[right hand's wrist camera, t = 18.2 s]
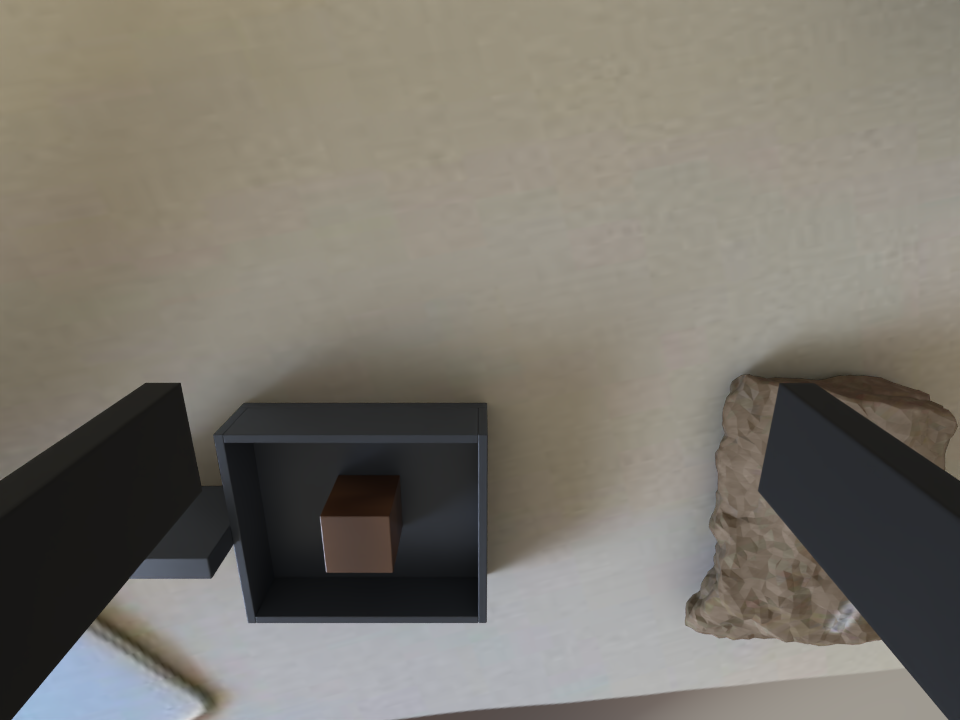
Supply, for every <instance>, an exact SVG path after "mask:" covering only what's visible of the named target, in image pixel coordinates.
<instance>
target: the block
mask: <svg viewBox="0 0 960 720" xmlns="http://www.w3.org/2000/svg"><path fill="white" fill-rule="evenodd" d="M320 523H321V532H322V540H323V549H324V557H325V566H326V572H327V573H393V570H394V565H395V561H396V556H397V551H398V546H399V542H400V537H401V532H402V527H403V523H402V505H401V487H400V475H338V477H337V479H336V481H335V484H334V486H333V488H332V490H331V493H330V495H329V497H328V499H327V502H326V504H325V506H324V508H323V511H322V513H321V515H320Z"/></svg>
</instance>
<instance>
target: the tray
mask: <svg viewBox="0 0 960 720" xmlns="http://www.w3.org/2000/svg"><path fill="white" fill-rule="evenodd" d="M213 436H214V441H215V447H216V452H217V458H218V463H219V468H220V474H221V479H222V485H223V486H201V487H202V492H201V493H200V494H199V495H198V497H197V498H196V499H195V500H194V501H193V503H192V504H191V505H190V506H189V507H188V509H187V510H186V511H185V512H184V513H183V515H182V516H181V517H180V518H179V519H178V521H177V522H176V523H175V524H174V525H173V527H172V528H171V529H170V530H169V531H168V533H167V534H166V535H165V536H164V537H163V539H162V540H161V541H160V542H159V543H158V545H157V546H156V547H155V548H154V549H153V551H152V552H151V553H150V554H149V555H148V557H147V558H146V559H145V560H144V561H143V563H142V564H141V565H140V566H139V567H138V569H137V570H136V571H135V572H134V573H133V575H132V576H131V577H130V578H129V579H211V578H212V577H213V576H214V574H215V573H216V571H217V569H218V568H219V566H220V565H221V563H222V562H223V560H224V558H225V557H226V555H227V554H228V552H229V551H230V549H231V547H232V546H233V544H234V550H235V555H236V560H237V566H238V571H239V577H240V582H241V587H242V593H243V598H244V604H245V609H246V614H247V620H248V623H478V622H479V623H486V622H487V464H488V430H487V403H243V405H242V406H241V407H240V408H239V409H238V410H237V411H236V412H235V413H234V414H233V415H232V416H231V417H230V418H229V419H228V420H227V421H226V422H225V423H224V424H223V425H222V426H221V427H220V428H219V429H218V431H217V432H216V433H215V434H214V435H213ZM338 475H400V487H401V505H402V523H403V527H402V532H401V537H400V542H399V546H398V551H397V556H396V561H395V565H394V570H393V573H327V572H326V566H325V557H324V549H323V540H322V532H321V523H320V515H321V513H322V511H323V508H324V506H325V504H326V502H327V499H328V497H329V495H330V493H331V490H332V488H333V486H334V484H335V481H336V479H337V477H338Z"/></svg>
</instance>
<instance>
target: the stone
mask: <svg viewBox="0 0 960 720" xmlns="http://www.w3.org/2000/svg"><path fill="white" fill-rule="evenodd" d="M779 383H815V384H817V385H818V386H820V387H821V388H823V389H824V390H826V391H827V392H829V393H830V394H831V395H833V396H834V397H836V398H837V399H839V400H840V401H842V402H843V403H845V404H846V405H848V406H849V407H851V408H852V409H854V410H855V411H857V412H858V413H860V414H861V415H863V416H864V417H866V418H867V419H869V420H870V421H872V422H873V423H875V424H876V425H878V426H879V427H880V428H882V429H883V430H885V431H886V432H888V433H889V434H891V435H892V436H894V437H895V438H897V439H898V440H900V441H901V442H903V443H904V444H906V445H907V446H909V447H910V448H912V449H913V450H915V451H916V452H918V453H919V454H921V455H922V456H924V457H925V458H927V459H928V460H929V461H931V462H932V463H934V464H935V465H937V466H938V467H940V468H941V469H943V470H945V452H946V449H947V446H948V443H949V440H950V438H951V437H952V436H953V435H954V433H955V431H956V429H957V427H958V426H957V423H956V420H955V417H954V416H953V415H952V413H951V412H950V411H949V410H947V409H944V408H943V406H941V405H939V404H937V403H934V402H932V401H930V396H929V394H926V393H924V392H922V391H920V390H914V389H911V388H908V387H905V386H902V385H898V384H895V383H893V382H890V381H887V380H885V379H883V378H879V377H870V376H854V375H848V376H836V377H832V378H828V379H822V380H810V379H790V378H776V377H775V378H768V379H766V378H763V377H755V376H752V375H750V374H748V375H741V376H740V377H738V378H736V379H735V380H734V381H732V383H731V386H730V394H729V395H728V397H727V398H726V401H725V405H724V408H723V422H722V425H723V428H724V432H725V435H724V437H723V439H722V441H721V443H720V447H719V449H718V450H717V452H716V453H715V459H716V468H717V471H718V490H717V492H716V507H715V509H714V512H713V514H712V516H711V518H710V522H709V528H710V530H711V531H712V533H713V535H714V536H715V538H716V539H717V541H718V542H717V544H716V546H715V548H716V553H715V555H714V564H715V565H714V567H713V568H712V569H711V570H710V571H708V573H707V576H706V577H705V578H704V580H703V581H702V583H701V590H700V591H699V592H697V593H696V594H694V595H692V596H691V598H690V599H689V600H688V601H687V603H686V617H685V625H686V626H688V627H690V628H692V629H694V630H695V631H697V632H699V633H703V634H712V635H714V636H716V637H718V638H725V637H727V638H729V639H732V640H738V639H752V638H762V639H767V638H777V639H779V640H782V641H784V642H793V641H795V642H799V643H804V644H812V645H817V646H828V645H833V644H850V645H856V644H863V643H865V642H871V641H875V640H882V639H881V638H880V637H879V636H878V635H877V633H876V632H875V631H874V630H873V629H872V627H871V626H870V625H869V624H868V623H867V621H866V620H865V619H864V618H863V617H862V615H861V614H860V613H859V612H858V611H857V609H856V608H855V607H854V606H853V605H852V603H851V602H850V601H849V600H848V599H847V597H846V596H845V595H844V594H843V593H842V591H841V590H840V589H839V588H838V587H837V585H836V584H835V583H834V582H833V581H832V579H831V578H830V577H829V576H828V575H827V573H826V572H825V571H824V570H823V569H822V567H821V566H820V565H819V564H818V563H817V561H816V560H815V559H814V558H813V557H812V555H811V554H810V553H809V552H808V551H807V549H806V548H805V547H804V546H803V545H802V543H801V542H800V541H799V540H798V539H797V537H796V536H795V535H794V534H793V533H792V531H791V530H790V529H789V528H788V527H787V525H786V524H785V523H784V522H783V521H782V519H781V518H780V517H779V516H778V515H777V513H776V512H775V511H774V510H773V509H772V507H771V506H770V505H769V504H768V503H767V501H766V500H765V499H764V498H763V497H762V495H761V494H760V493H759V492H758V487H759V482H760V477H761V472H762V467H763V462H764V457H765V452H766V447H767V442H768V437H769V432H770V427H771V422H772V417H773V412H774V407H775V402H776V397H777V392H778V387H779Z"/></svg>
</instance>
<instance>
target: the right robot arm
mask: <svg viewBox="0 0 960 720" xmlns="http://www.w3.org/2000/svg"><path fill="white" fill-rule="evenodd" d="M201 492H202V487H201V482H200V477H199V472H198V467H197V462H196V457H195V452H194V447H193V442H192V437H191V432H190V427H189V422H188V417H187V412H186V407H185V402H184V397H183V392H182V387H181V383H145V384H143V385H142V386H140V387H139V388H137V389H136V390H134V391H133V392H131V393H130V394H129V395H127V396H126V397H124V398H123V399H121V400H120V401H118V402H117V403H115V404H114V405H112V406H111V407H109V408H108V409H106V410H105V411H103V412H102V413H100V414H99V415H97V416H96V417H94V418H93V419H91V420H90V421H88V422H87V423H85V424H84V425H82V426H81V427H80V428H78V429H77V430H75V431H74V432H72V433H71V434H69V435H68V436H66V437H65V438H63V439H62V440H60V441H59V442H57V443H56V444H54V445H53V446H51V447H50V448H48V449H47V450H45V451H44V452H42V453H41V454H39V455H38V456H36V457H35V458H33V459H32V460H31V461H29V462H28V463H26V464H25V465H23V466H22V467H20V468H19V469H17V470H16V471H14V472H13V473H11V474H10V475H8V476H7V477H5V478H4V479H2V480H1V481H0V720H12V718H13V717H14V716H15V715H16V714H17V712H18V711H19V710H20V709H21V708H22V706H23V705H24V704H25V703H26V702H27V700H28V699H29V698H30V697H31V696H32V694H33V693H34V692H35V691H36V690H37V688H38V687H39V686H40V685H41V684H42V682H43V681H44V680H45V679H46V678H47V676H48V675H49V674H50V673H51V672H52V671H53V669H54V668H55V667H56V666H57V665H58V663H59V662H60V661H61V660H62V659H63V657H64V656H65V655H66V654H67V653H68V651H69V650H70V649H71V648H72V647H73V645H74V644H75V643H76V642H77V641H78V639H79V638H80V637H81V636H82V635H83V633H84V632H85V631H86V630H87V629H88V627H89V626H90V625H91V624H92V623H93V621H94V620H95V619H96V618H97V617H98V615H99V614H100V613H101V612H102V611H103V609H104V608H105V607H106V606H107V605H108V603H109V602H110V601H111V600H112V599H113V597H114V596H115V595H116V594H117V593H118V591H119V590H120V589H121V588H122V587H123V585H124V584H125V583H126V582H127V581H128V579H129V578H130V577H131V576H132V575H133V573H134V572H135V571H136V570H137V569H138V567H139V566H140V565H141V564H142V563H143V561H144V560H145V559H146V558H147V557H148V555H149V554H150V553H151V552H152V551H153V549H154V548H155V547H156V546H157V545H158V543H159V542H160V541H161V540H162V539H163V537H164V536H165V535H166V534H167V533H168V531H169V530H170V529H171V528H172V527H173V525H174V524H175V523H176V522H177V521H178V519H179V518H180V517H181V516H182V515H183V513H184V512H185V511H186V510H187V509H188V507H189V506H190V505H191V504H192V503H193V501H194V500H195V499H196V498H197V497H198V495H199V494H200V493H201ZM758 492H759V493H760V494H761V495H762V497H763V498H764V499H765V500H766V501H767V503H768V504H769V505H770V506H771V507H772V509H773V510H774V511H775V512H776V513H777V515H778V516H779V517H780V518H781V519H782V521H783V522H784V523H785V524H786V525H787V527H788V528H789V529H790V530H791V531H792V533H793V534H794V535H795V536H796V537H797V539H798V540H799V541H800V542H801V543H802V545H803V546H804V547H805V548H806V549H807V551H808V552H809V553H810V554H811V555H812V557H813V558H814V559H815V560H816V561H817V563H818V564H819V565H820V566H821V567H822V569H823V570H824V571H825V572H826V573H827V575H828V576H829V577H830V578H831V579H832V581H833V582H834V583H835V584H836V585H837V587H838V588H839V589H840V590H841V591H842V593H843V594H844V595H845V596H846V597H847V599H848V600H849V601H850V602H851V603H852V605H853V606H854V607H855V608H856V609H857V611H858V612H859V613H860V614H861V615H862V617H863V618H864V619H865V620H866V621H867V623H868V624H869V625H870V626H871V627H872V629H873V630H874V631H875V632H876V633H877V635H878V636H879V637H880V638H881V639H882V641H883V642H884V643H885V644H886V645H887V647H888V648H889V649H890V650H891V651H892V653H893V654H894V655H895V656H896V657H897V659H898V660H899V661H900V662H901V663H902V665H903V666H904V667H905V668H906V669H907V670H908V672H909V673H910V674H911V675H912V676H913V678H914V679H915V680H916V681H917V682H918V684H919V685H920V686H921V687H922V688H923V690H924V691H925V692H926V693H927V694H928V696H929V697H930V698H931V699H932V700H933V702H934V703H935V704H936V705H937V706H938V708H939V709H940V710H941V711H942V712H943V714H944V715H945V716H946V717H947V718H948V720H960V481H959V480H958V479H956V478H955V477H953V476H952V475H950V474H949V473H947V472H946V471H944V470H943V469H941V468H940V467H938V466H937V465H935V464H934V463H932V462H931V461H929V460H928V459H927V458H925V457H924V456H922V455H921V454H919V453H918V452H916V451H915V450H913V449H912V448H910V447H909V446H907V445H906V444H904V443H903V442H901V441H900V440H898V439H897V438H895V437H894V436H892V435H891V434H889V433H888V432H886V431H885V430H883V429H882V428H880V427H879V426H878V425H876V424H875V423H873V422H872V421H870V420H869V419H867V418H866V417H864V416H863V415H861V414H860V413H858V412H857V411H855V410H854V409H852V408H851V407H849V406H848V405H846V404H845V403H843V402H842V401H840V400H839V399H837V398H836V397H834V396H833V395H831V394H830V393H829V392H827V391H826V390H824V389H823V388H821V387H820V386H818V385H817V384H815V383H779V387H778V392H777V397H776V402H775V407H774V412H773V417H772V422H771V427H770V432H769V437H768V442H767V447H766V452H765V457H764V462H763V467H762V472H761V477H760V482H759V487H758Z"/></svg>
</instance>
